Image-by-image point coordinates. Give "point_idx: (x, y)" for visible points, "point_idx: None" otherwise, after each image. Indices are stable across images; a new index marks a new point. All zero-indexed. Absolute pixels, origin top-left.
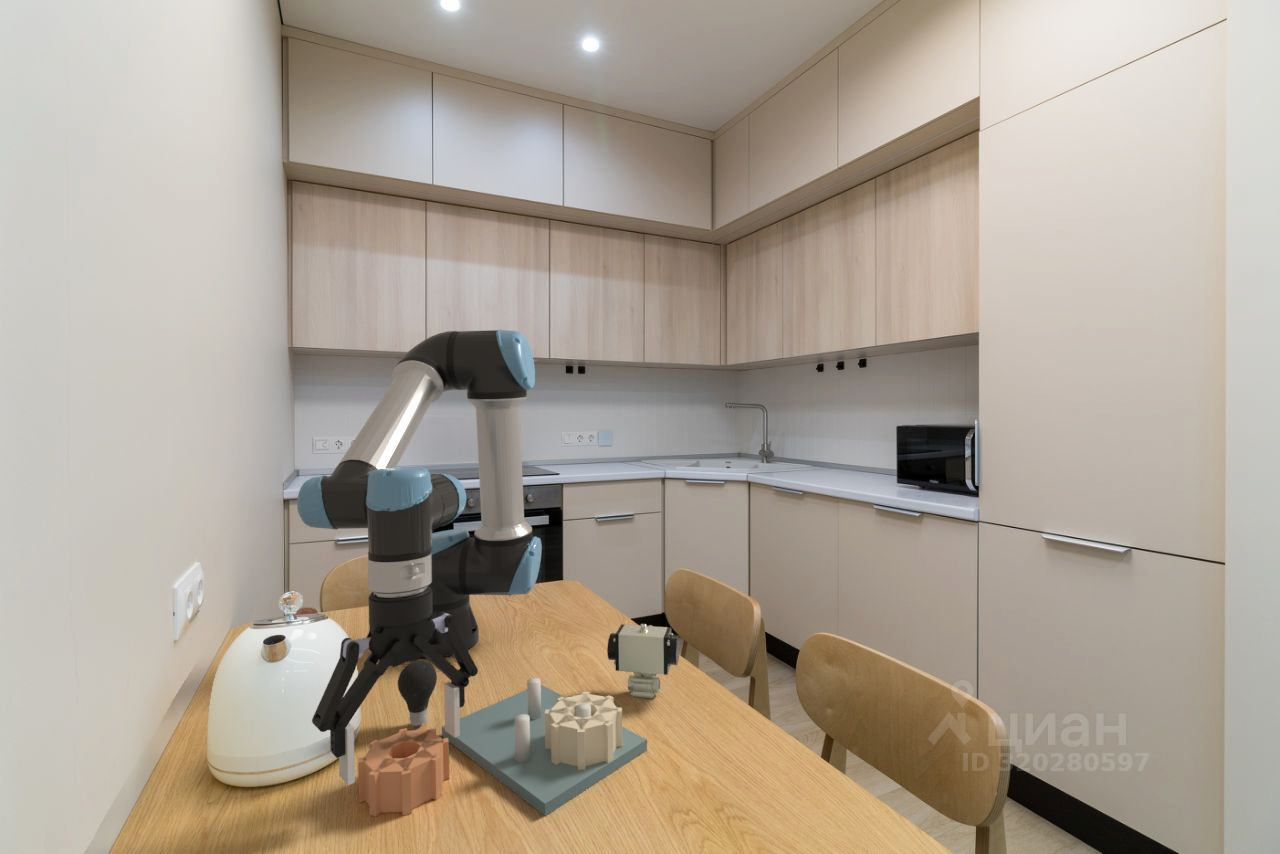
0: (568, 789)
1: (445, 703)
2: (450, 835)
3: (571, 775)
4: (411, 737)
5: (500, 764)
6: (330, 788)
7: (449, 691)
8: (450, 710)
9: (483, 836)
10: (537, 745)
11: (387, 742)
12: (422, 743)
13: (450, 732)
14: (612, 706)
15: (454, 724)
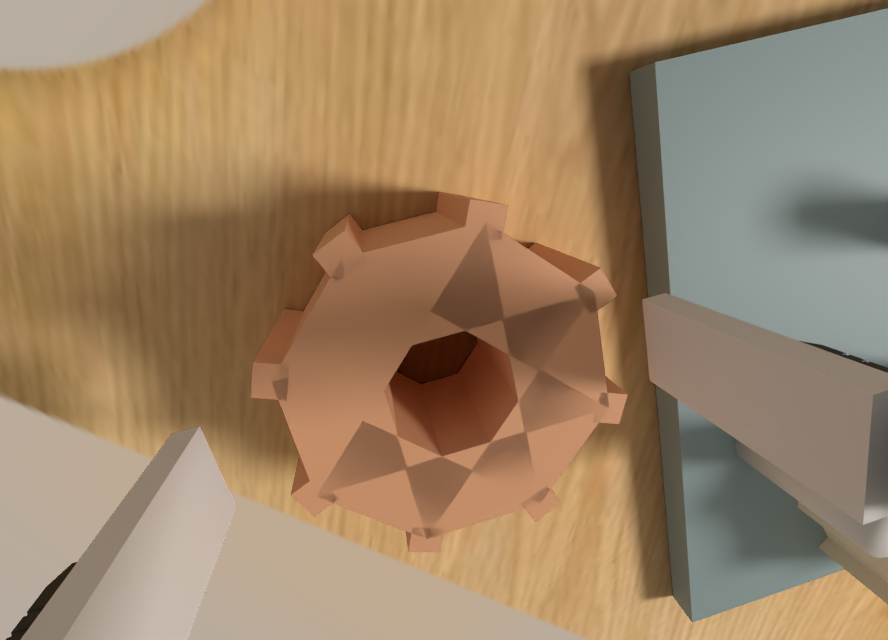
0: (757, 599)
1: (744, 354)
2: (483, 571)
3: (794, 559)
4: (503, 310)
5: (695, 439)
6: (179, 187)
7: (830, 447)
8: (728, 397)
9: (543, 600)
10: None
11: (396, 293)
12: (530, 385)
13: (652, 349)
14: None
15: (687, 405)
